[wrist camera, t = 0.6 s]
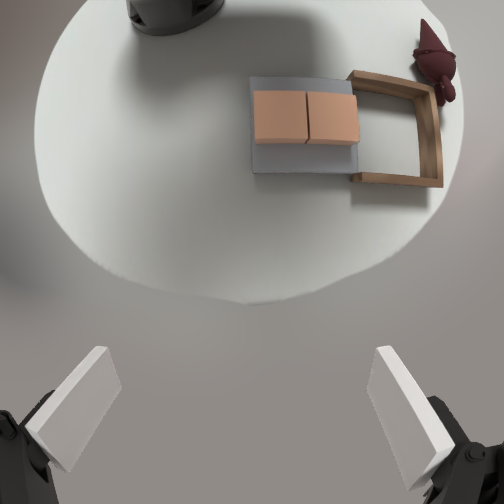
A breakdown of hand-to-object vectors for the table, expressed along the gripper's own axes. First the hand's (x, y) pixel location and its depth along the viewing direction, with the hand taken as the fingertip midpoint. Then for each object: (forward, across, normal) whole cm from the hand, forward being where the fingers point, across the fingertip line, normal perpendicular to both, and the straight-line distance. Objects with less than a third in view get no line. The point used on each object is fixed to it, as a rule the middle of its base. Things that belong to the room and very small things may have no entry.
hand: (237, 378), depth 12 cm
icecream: (+26, +28, +29) cm, 47 cm away
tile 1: (+22, +4, +16) cm, 27 cm away
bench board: (+25, +6, +16) cm, 30 cm away
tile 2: (+22, +9, +16) cm, 29 cm away
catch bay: (+25, +19, +16) cm, 35 cm away
